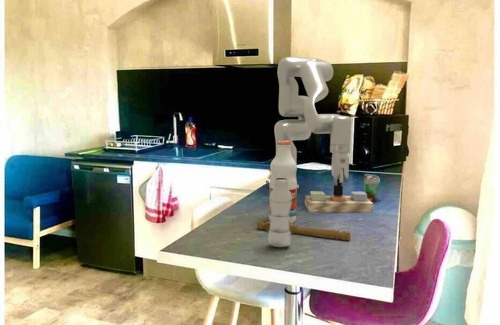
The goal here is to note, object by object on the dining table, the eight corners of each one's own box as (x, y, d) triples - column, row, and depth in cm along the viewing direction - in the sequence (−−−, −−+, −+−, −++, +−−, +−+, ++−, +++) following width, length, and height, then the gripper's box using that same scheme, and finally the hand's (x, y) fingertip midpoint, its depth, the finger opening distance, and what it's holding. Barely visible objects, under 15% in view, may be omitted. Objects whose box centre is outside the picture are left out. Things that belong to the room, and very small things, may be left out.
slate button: (353, 203, 173) (354, 194, 173) (350, 200, 178) (351, 191, 178) (366, 203, 174) (367, 194, 173) (363, 200, 178) (363, 191, 178)
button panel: (309, 212, 170) (309, 202, 170) (304, 204, 182) (305, 195, 181) (372, 212, 170) (373, 203, 170) (364, 204, 182) (364, 196, 182)
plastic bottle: (266, 242, 135) (267, 176, 132) (289, 242, 136) (290, 176, 133) (269, 250, 129) (270, 181, 126) (292, 249, 130) (294, 181, 126)
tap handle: (349, 233, 136) (255, 221, 147) (348, 243, 137) (255, 230, 148) (350, 230, 139) (259, 219, 150) (350, 240, 140) (259, 228, 151)
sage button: (311, 203, 173) (312, 194, 173) (310, 199, 178) (310, 191, 178) (324, 203, 173) (325, 194, 173) (322, 200, 178) (323, 191, 178)
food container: (380, 204, 183) (381, 179, 182) (364, 203, 185) (365, 179, 183) (378, 197, 195) (379, 174, 194) (363, 196, 197) (364, 173, 195)
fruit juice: (272, 216, 164) (274, 139, 160) (298, 218, 161) (300, 140, 157) (265, 223, 155) (267, 141, 151) (292, 226, 152) (295, 143, 148)
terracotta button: (332, 206, 174) (333, 197, 173) (330, 203, 178) (330, 194, 178) (345, 206, 174) (346, 198, 173) (342, 203, 179) (343, 195, 178)
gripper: (354, 151, 165) (352, 200, 168) (345, 146, 180) (343, 191, 183) (334, 151, 165) (331, 200, 168) (326, 145, 180) (324, 191, 183)
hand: (337, 195), depth 176 cm, fingers closed
